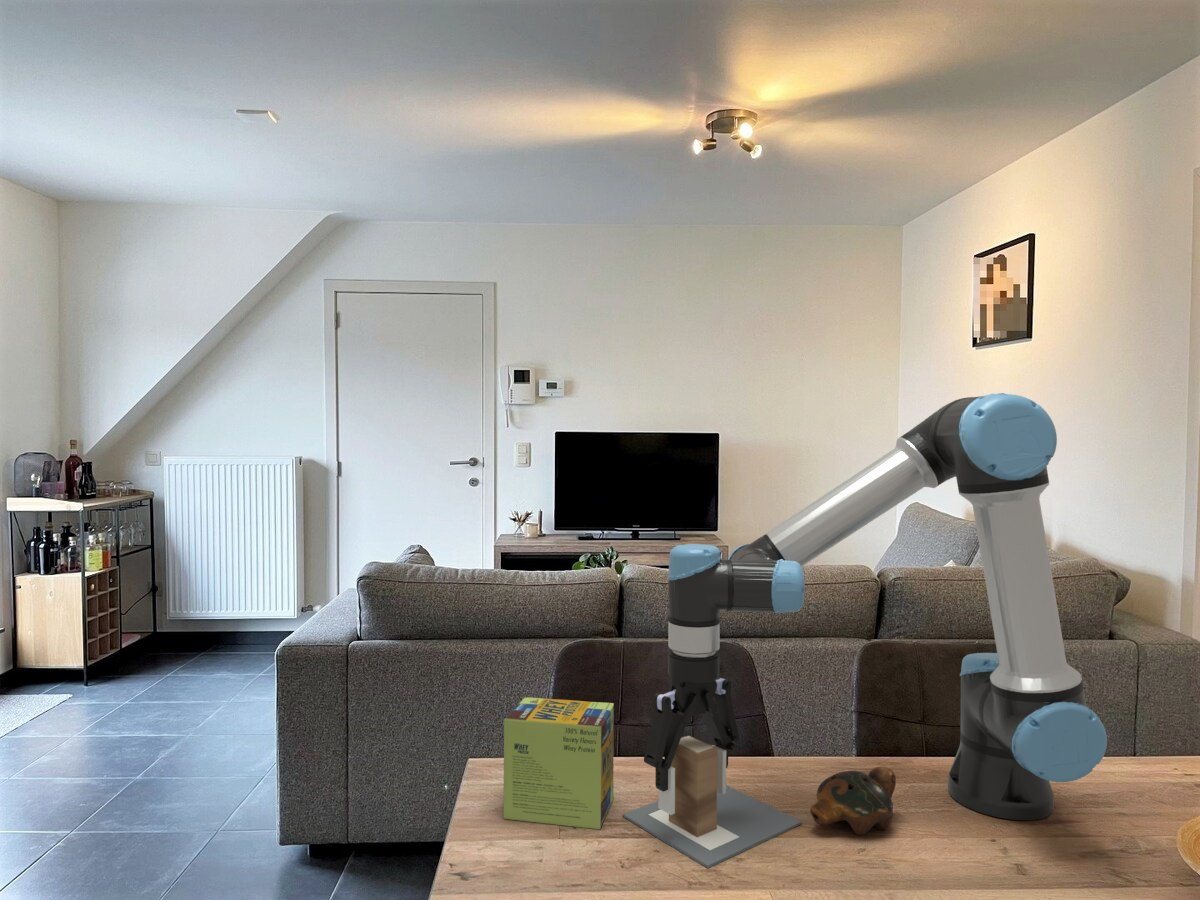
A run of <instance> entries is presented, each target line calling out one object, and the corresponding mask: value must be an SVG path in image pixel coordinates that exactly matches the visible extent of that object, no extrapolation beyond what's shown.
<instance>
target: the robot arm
mask: <svg viewBox="0 0 1200 900" xmlns="http://www.w3.org/2000/svg"><path fill="white" fill-rule="evenodd" d="M1057 438H1058V435H1057V430H1056V426H1055V424H1054V422H1053V419H1052V418H1051V416H1050V415H1049V413H1048V412H1047V411H1046V410H1045V409H1044V408H1043V407H1042V406H1041V405H1039V404H1038V403H1036V402H1035V401H1033V400H1031V399H1030V398H1027V397H1025V396H1022V395H1018V394H1011V393H1010V394H1009V393H1004V392H1001V393H1000V392H999V393H990V394H985V395H981V396H970V397H968V396H967V397H962V398H958V399H955V400H953V401H951V402H949V403H946V404H945V405H943V406H942V407H940V408H939V409H937V410H936V411H935V412H933V413H932V414H930V415H929V416H927V418H925V419H924V420H923V421H921V422H919V423H918V424H916V425H915V426H913V428H912V429H910V430H909V431H907V432H906V433H904V434H903V435H901V436H899V437H898V438H897V439H896V441H895V442H896V443H895V447H894V448H892V449H891V450H889V452H887V453H885V454H884V455H882V456H881V457H880V458H878V459H876V460H875V461H873V462H872V463H871V464H869V465H868V466H866V467H864V468H862V469H861V470H860V471H858V472H857V473H855V474H854V475H852V476H851V477H849V478H847V480H845V481H843V482H842V483H840V484H839V485H837V486H836V487H834V488H833V489H831V490H830V491H828V492H826V493H825V494H823V495H822V496H821V497H819V498H818V499H816V500H815V501H813V502H811V503H809V505H807V506H805V507H804V508H802V509H801V510H800V511H798V512H797V513H795V514H794V515H791V516H790V517H789V518H787V519H786V520H784V521H782V522H781V523H780V524H778V525H776V526H775V527H773V528H772V529H770V530H768V531H767V532H766V533H765V534H764V535H762V536H760V537H759V538H757V539H755V540H754V541H752V542H751V543H746V544H742V545H739V546H737V547H736V548H735V549H733V551H731V553H730V554H729V556H728V559H726V558H722V556H721V551H720V548H718V546H715V545H712V544H702V543H701V544H700V543H685V544H679V545H675V546H674V547H672V549H671V550H670V552H669V558H668V559H669V560H668V575H667V577H668V578H667V581H668V582H667V583H668V585H667V586H668V587H667V588H668V590H667V591H668V592H667V593H668V596H667V597H668V603H667V604H668V622H667V623H668V629H667V633H668V634H667V635H668V641H667V643H668V644H667V646H668V648H669V649H670V650H669V651H668V652H667V653H668V654H667V674H668V676H669V678H670V681H671V684H670V687H669V691H668V692H666V693H664V694H663V693H662V694H661V693H658V692H656V693H654V695H653V699H652V700H653V713H652V717H651V721H650V727H649V733H648V737H647V742H646V747H645V752H644V757H643V762H644V763H645V764H647V765H649V766H651V767H653V768H655V779H654V780H655V782H654V783H655V787H656V789H657V799H658V800H657V801H658V808H659V809H661V810H663V811H665V812H666V813H668V814H670V815H672V814H675V768H673V767H671V764H672V761H673V758H674V756H675V753H676V750H677V747H678V745H679V742H680V739H681V738H682V737H683V733H684V730H685V728H686V725H689V724H690V722H691V720H692V717H695V716H696V715H698V714H700V715H701V717H702V719H703V722H704V723H705V725H706V728H707V730H708V732H709V734H710V736H711V739H712V740H713V743H714V744H711V745H712V746H714V747H717V792H719V793H721V794H725V793H726V785H727V768H728V766H729V751H733V750H734V749H735V743H734V742H737V741H738V740H739V739H740V736H739V730H738V725H737V720H736V716H735V715H736V714H735V710H734V706H733V700H732V681H730V680H728V679H725V678H722V677H720V654H719V653H718V651H719V650H720V648H721V647H720V645H721V644H720V642H721V641H720V637H721V636H720V633H721V632H720V630H721V629H720V628H721V627H720V614H721V613H720V612H722V611H723V612H744V613H745V612H746V613H747V612H750V613H776V614H781V613H783V614H784V613H795V612H796V613H797V612H799V611H801V609H802V608H803V607H804V603H805V593H806V592H805V591H806V590H805V589H806V588H805V587H806V585H805V584H806V583H805V575H804V569H803V566H806V565H807V564H808V563H809V562H811V561H813V560H815V559H816V558H818V557H819V556H820V555H822V554H824V553H825V552H826V551H828V550H829V549H831V548H833V547H834V546H836V545H837V544H839V543H840V542H842V541H844V540H845V539H846V538H848V537H849V536H851V535H853V534H854V533H856V532H857V531H859V530H860V529H862V528H863V527H865V526H867V525H868V524H869V523H871V522H873V521H875V520H876V519H878V518H879V517H881V516H883V515H884V514H885V513H887V512H888V511H890V510H891V509H893V508H894V507H895V506H898V505H899V504H900V503H902V502H903V501H905V500H906V499H908V498H909V497H911V496H913V495H914V494H916V493H918V492H919V491H920V490H922V489H924V488H932V489H935V488H937V487H939V486H941V485H942V484H943V483H945V482H946V481H949V480H951V479H953V478H956V484H957V489H958V495H960V496H961V497H963V498H964V499H965V500H966V501H968V502H969V503H970V504H971V505H972V508H973V516H974V517H973V518H974V522H975V528H976V534H977V539H978V546H979V551H980V552H979V553H980V557H981V563H982V568H983V575H984V581H985V588H986V593H987V598H988V599H987V600H988V604H989V611H990V618H991V623H992V628H993V629H992V630H993V635H994V642H995V646H996V648H995V649H996V652H975V653H974V652H973V653H969V654H966V655H965V656H964V657H963V658H962V660H961V667H960V670H961V671H960V673H959V677H960V740H959V741H960V743H959V747H958V749H957V750H956V755H955V757H954V760H953V762H952V764H951V767H950V769H949V772H948V775H947V776H948V777H947V783H948V784H947V792H948V793H949V795H950V796H951V798H952V799H954V800H955V801H956V802H958V803H959V804H960V805H962V806H965V807H966V808H969V809H971V810H972V811H976V812H978V813H979V814H980V813H981V814H983V815H987V816H992V817H996V818H999V819H1000V818H1001V819H1005V820H1015V821H1034V820H1041V819H1044V818H1047V817H1049V816H1050V815H1051V814H1052V813H1053V812H1054V807H1055V805H1054V803H1055V801H1054V800H1055V799H1054V798H1055V797H1054V791H1053V789H1052V788H1053V787H1052V786H1051V782H1053V783H1068V782H1074V781H1078V780H1079V779H1082V778H1084V777H1086V776H1087V775H1089V774H1090V773H1092V772H1093V770H1094V768H1096V766H1097V765H1099V764H1100V763H1101V762H1102V760H1103V758H1104V756H1105V754H1106V751H1107V745H1108V738H1107V737H1108V736H1107V735H1108V734H1107V732H1106V729H1105V725H1104V724H1103V722H1102V721H1101V720H1100V718H1099V716H1098V715H1097V713H1095V712H1094V710H1092V709H1090V708H1089V707H1088V706H1087V702H1086V695H1085V689H1084V684H1083V679H1082V675H1081V673H1080V672H1079V671H1078V670H1076V669H1075V668H1073V667H1072V666H1071V665H1070V664H1068V663H1067V658H1066V650H1065V647H1064V646H1065V645H1064V641H1063V640H1064V639H1063V635H1062V634H1063V633H1062V627H1061V622H1060V616H1059V615H1060V614H1059V609H1058V604H1057V597H1056V591H1055V585H1054V580H1053V579H1054V578H1053V574H1052V567H1051V562H1050V561H1051V560H1050V556H1049V555H1050V554H1049V550H1048V549H1049V548H1048V543H1047V537H1046V532H1045V525H1044V520H1043V512H1042V508H1041V501H1040V497H1041V494H1042V493H1043V492H1044V491H1045V490H1046V489H1047V487H1049V485H1050V479H1049V473H1048V467H1047V466H1048V465H1049V464H1050V461H1051V459H1052V458H1053V457H1054V456H1055V453H1056V450H1057V444H1058V439H1057ZM678 713H680V714H681V715H680V714H678Z"/></svg>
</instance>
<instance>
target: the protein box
mask: <svg viewBox="0 0 1200 900" xmlns="http://www.w3.org/2000/svg"><path fill="white" fill-rule="evenodd" d="M614 705H615V703H613V702H601V701H600V702H599V701H598V702H597V701H583V700H572V699H555V698H554V699H553V698H540V697H523V698H522V700H521V701H519V703H518V704H517V705H516V706H515V708H513V709H512V711H510V713H509V714H508V715H506V717H505V718H504V719H503V804H502V805H503V809H502V815H503V816H502V817H503V820H512V821H519V822H520V821H521V822H529V823H539V824H547V825H554V826H555V825H557V826H567V827H573V828H584V829H593V830H601V829H602V827H603V824H604V822H605V819H606V817H607V815H608V812H609V811H610V808H611V806H612V803H613V801H614V793H615V792H614V788H615V786H614V781H615V780H614V771H615V770H614V722H615V721H614V713H615V712H614V711H615V710H614V709H615V708H614V707H615V706H614Z"/></svg>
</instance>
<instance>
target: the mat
mask: <svg viewBox="0 0 1200 900" xmlns="http://www.w3.org/2000/svg"><path fill="white" fill-rule="evenodd" d="M622 818H624V819H625V820H627V821H628V822H630V823H632V824H634V825H636V826H637V827H638V828H640V829H642V830H644V831H646V833H649V834H651V836H653V837H655V838H657V839H658V840H660V841H662V842H663V843H665V844H667V845H668V846H669V847H672V848H673V849H675V850H676V851H678V852H679V853H681V854H683V855H685V856H686V857H688V858H690V859H692V860H693V861H694V862H696V863H697V864H699V865H701V866H703V867H704V868H706V869H710V868H712V867H714V866H716V865H718V864H720V863H723V862H725V861H727V860H729V859H731V858H733V857H735V856H737V855H739V854H741V853H744V852H746V851H747V850H750V849H752V848H754V847H757V846H758V845H760V844H762V843H763V844H764V843H765V842H767V841H769V840H771V839H773V838H775V836H776V837H778V836H779V835H782V834H784V833H786V832H788V831H790V830H792V829H794V827H795V828H797V827H799V826H801V825H803V821H802V820H800V819H798V818H797V817H794V816H792V815H790V814H788V813H786V812H784V811H781V810H779V809H777V808H776V807H773V806H770V805H769V804H767V803H764V802H763V801H761V800H759V799H757V798H754V797H752V796H751V795H748V794H746V793H745V792H742V791H739V790H738V789H736V788H734V787H731V786H729V785H727V784H726V793H725V794H721V793H719V792H717V829H716V830H713V831H711V832H709V833H706V834H704V835H702V836H699V837H696V836H694V835H692V834H690V833H689V832H687V831H685V830H683V829H682V828H680V827H678V826H676V825H675V824H673V823H671V822H669V814H668V813H666V812H665V811H663V810H661V809H659V808H658V800H657V801H654V802H652V803H649V804H647V805H643V806H641V807H638V808H635V809H633V810H631V811H628V812H625V813H623V814H622ZM800 824H801V825H800ZM798 825H799V826H798ZM796 826H797V827H796Z"/></svg>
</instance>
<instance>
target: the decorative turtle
mask: <svg viewBox="0 0 1200 900" xmlns="http://www.w3.org/2000/svg"><path fill="white" fill-rule="evenodd" d="M896 780H897V777H896V774H895V772H894V770H893V769H891V768H890V767H886V766H876V767H874V768H873V769H871V770H870V772H869V774H866V773H863V772H861V771H857V770H848V771H847V770H846V771H841V772H838V773H835V774H833V775H830V776H829V777H827V778H826V779H824V780H823V781H822V782H821V783H820V784H819V786H818V787H817V790H816V800H817V801H816V802H815V803H814V804H813V805H811V806H810V809H809V812H810V814H811V817H812V819H813V820H814V822H815V823H816V824H818V825H820V826H827V825H830V824H834V823H838V822H840V821H846V822H847V823H848V824H849V825H850V827H851V829H852V830H853V832H854V833H855V834H856V835H857V836H861V837H862V836H864V835H865V834H866V833H868V832H869V831H870V830H871V828H873V826H875V828H877V829H878V830H880V831H885V830H887V829H888V828H889V826H890V823H891V820H892V815H893V809H894V807H893V806H894V805H893V804H894V803H893V801H892V796H893V795H894V792H895V788H896V785H897V784H896V783H897V781H896Z"/></svg>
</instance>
